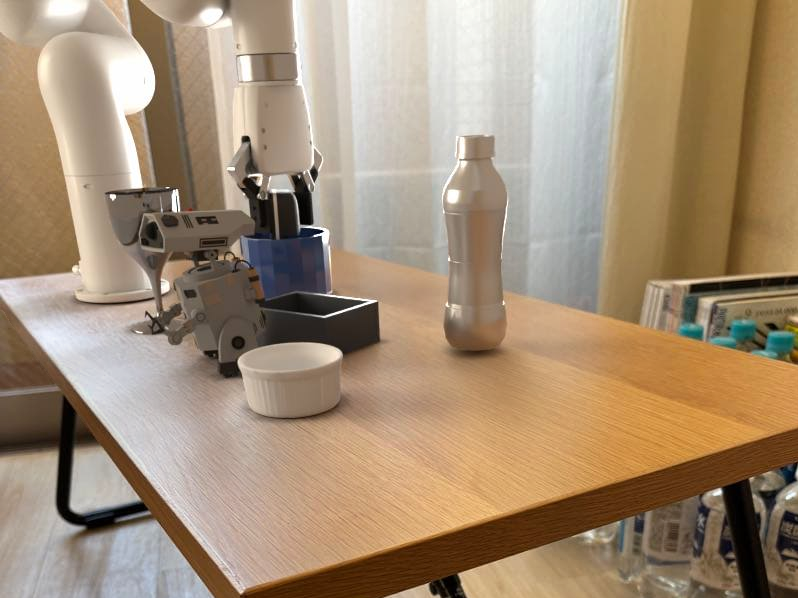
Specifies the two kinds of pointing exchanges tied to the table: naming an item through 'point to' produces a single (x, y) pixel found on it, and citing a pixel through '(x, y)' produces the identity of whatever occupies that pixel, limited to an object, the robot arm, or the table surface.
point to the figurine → (209, 283)
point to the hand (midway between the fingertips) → (283, 227)
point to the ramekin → (292, 379)
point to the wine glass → (126, 226)
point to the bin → (320, 321)
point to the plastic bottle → (475, 247)
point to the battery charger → (284, 214)
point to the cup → (290, 261)
